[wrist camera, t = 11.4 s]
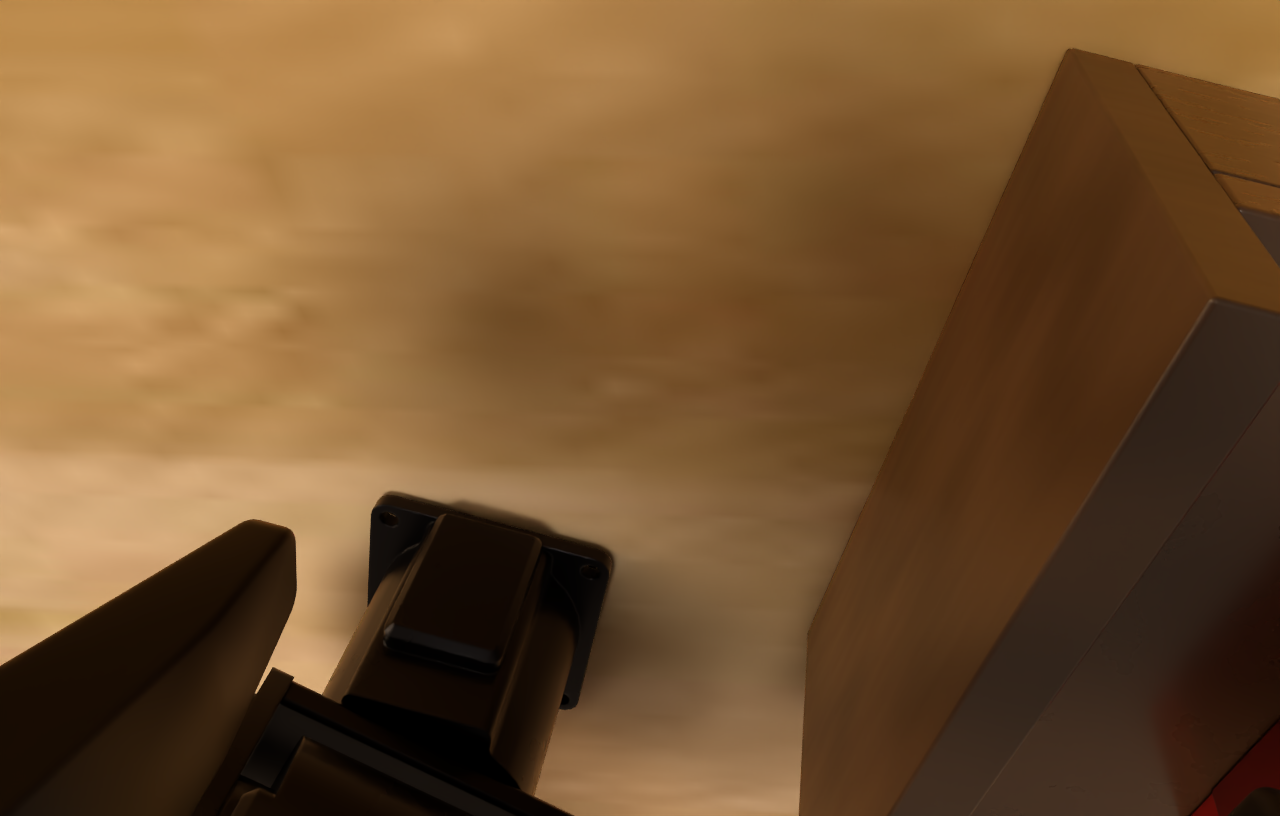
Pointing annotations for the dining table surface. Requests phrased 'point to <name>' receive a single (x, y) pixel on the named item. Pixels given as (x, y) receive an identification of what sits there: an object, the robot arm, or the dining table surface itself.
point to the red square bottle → (1246, 776)
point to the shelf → (1077, 486)
